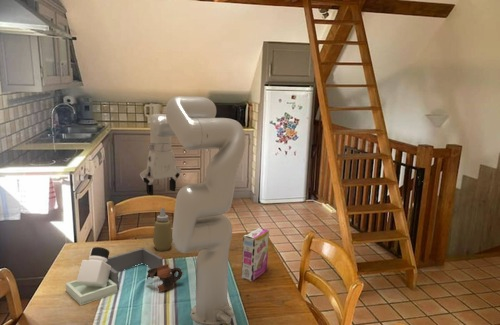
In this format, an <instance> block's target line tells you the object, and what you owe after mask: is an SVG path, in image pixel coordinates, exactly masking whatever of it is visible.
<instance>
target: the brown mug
mask: <svg viewBox="0 0 500 325" xmlns="http://www.w3.org/2000/svg"><path fill="white" fill-rule="evenodd" d="M177 272H178V274H177V275H175V274H176V273H177ZM183 273H184V272H183V271H182V269H181V268H180V267H174V268H171V267H169V264H163V266H160V267H157V268H153V269H150V268H149V269H148V270H147V275H146V280H149V279H150V278H151V279H154V278H155V277H158V278H159V280H160V281H161V282H162V283H161V284H159V285H158V284H157V287H156V288H157V290H158V293H161V292H164V291H169V290H173V289H174V287H175V285H176V283H177V281H180V280H181V278H182V277H183ZM174 284H175V285H174Z"/></svg>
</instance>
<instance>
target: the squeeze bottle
mask: <svg viewBox="0 0 500 325" xmlns="http://www.w3.org/2000/svg"><path fill="white" fill-rule="evenodd" d="M159 212H160V213H159V214H158V215H157V216H156V221H155V222H154V227H153V239H152V242H153V245H154V248H155V250H156V251H159V252H165V251H168V250H170V249H171V246H172V244H173V239H172V231H173V229H172V223H171V220H169V215H167V214H166V211H165V208H164V207H161V208H160V211H159Z"/></svg>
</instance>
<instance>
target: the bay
mask: <svg viewBox="0 0 500 325" xmlns="http://www.w3.org/2000/svg"><path fill="white" fill-rule="evenodd" d="M163 259H164V258H163V257H161V256H159V255H158V254H156V253H154V252H153V251H150V250H149V249H147V248H145V247H142V248H137V249H135V250H130V251H127V252H124V253H121V254H117V255H112V256H108V260H107V262H106V263H107V264H108V265H110V266H111V269H110V274H109V279H110V280H112V281H113V282H114V283H115V284H117V290H120V289H119V287H120V286H119V285H120V284H119V282H120V281H119V272H122V271H125V270H124V269H126V270H128V269H127V268H129V269H131V268H130V267H132V266H135V265H138V264H141V263H144V264H146V265H148V266H149V267H150V268H152V269H153V268H157V267H160V266H163V265H164V263H163V262H164V260H163ZM144 264H143V265H144ZM138 266H139V265H138ZM135 267H136V266H135ZM149 267H148V268H149ZM132 268H133V267H132ZM150 268H149V269H150Z"/></svg>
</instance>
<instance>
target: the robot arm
mask: <svg viewBox="0 0 500 325" xmlns="http://www.w3.org/2000/svg"><path fill="white" fill-rule="evenodd" d="M216 115H217V106H216V104H215V103H214V102H213V101H212V99H209V98H208V97H203V96H187V95H185V96H184V95H183V96H181V95H180V96H172V98H170V99H169V101H168V102H167V103H166V106H165V113H153V114H151V115H150V118H149V120H150V121H149V124H150V125H149V129H150V132H149V133H150V135H149V136H150V144H149V145H147V149H148V150H150V151H148V156H147V164H146V165H147V166H146V168H145V169H144V170H142V171H141V172H140V173H139V176H140V178H141V180H142V181H143V182H144V184H146V189H145V190H146V194H147V195H149V196H153V195H154V184H153V183H154V181H155V180H163V179H169V180H168V186H169V191H172V192H176V187H177V185H176V184H177V183H176V182H177V181H178V178H179V177H180V174H181V171H182V168H181V167H179V166H177V164H176V157H175V152H174V150H172V137H176V139H177V140H178V142H179V143H180V145H181V146H182V147H183V148H185V149H186V150H190V151H197V150H198V151H201V150H216V149H217V150H218V151H217V152H215V154H214V155H213V156H212V158H211V159H210V161H209V162H208V164H207V166H206V169H205V170H206V171H205V177H204V180H203V182H201V183H200V182H198V183H192V184H187V185H184V186H183V187H181V188H180V189H179V191H178V192H177V195H176V196H175V204H174V211H173V214H174V215H173V223H172V239H173V240H172V245H173V246H174V248H175V250H176V251H177V252H179V253H180V254H181V253H182V254H189V253H194V252H198V251H199V252H198V254H197V257H196V261H195V263H196V264H195V305H194V306H193V307H192V308H191V311H190V317H191V320H192V321H194V323H197V324H199V325H221V324H224V323H225V324H227V325H229V324H230V323H231V322H232V318H234V317H235V313H234V312H233V310H232V307H231V306H230V304H229V303H228V291H229V290H228V288H229V287H228V286H229V285H228V283H229V282H228V281H229V280H228V279H229V278H228V277H229V276H228V275H229V255H230V246H231V242H232V237H233V225H232V221H231V220H230V218H229V217H228V216H226V215H224V214H226V213H228V212H229V211H230V209H231V207H232V204H233V199H234V194H235V188H236V183H237V182H236V181H237V174H238V171H239V170H238V169H240V168H239V167H240V164H241V162H242V159H243V157H244V156H243V155H244V153H245V149H246V134H245V130H244V127H243V126H242V124H241V123H240V122H239V121H238V120H235V119H232V118H226V117H216ZM146 175H147V177H146Z"/></svg>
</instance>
